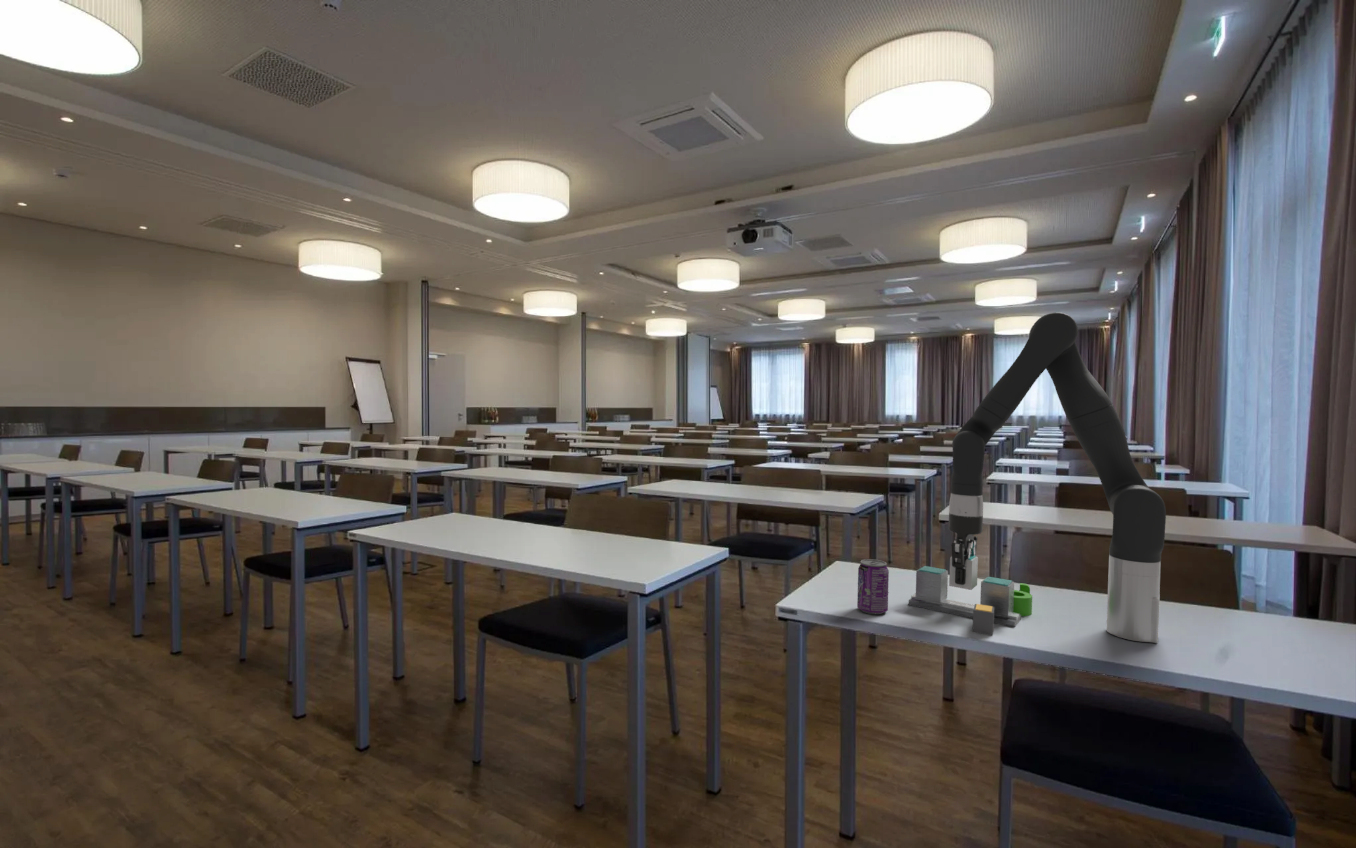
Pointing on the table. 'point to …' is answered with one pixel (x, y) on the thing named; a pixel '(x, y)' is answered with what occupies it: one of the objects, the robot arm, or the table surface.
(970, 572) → the block
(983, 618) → the block
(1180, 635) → the table surface
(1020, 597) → the tape dispenser
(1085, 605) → the table surface
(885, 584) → the beverage can
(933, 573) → the rail
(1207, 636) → the table surface
